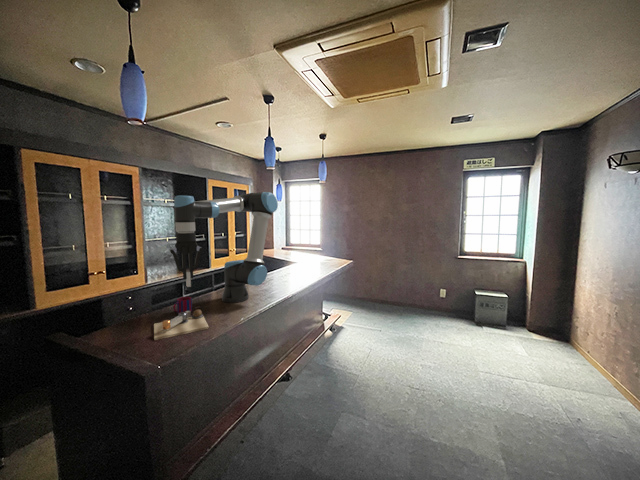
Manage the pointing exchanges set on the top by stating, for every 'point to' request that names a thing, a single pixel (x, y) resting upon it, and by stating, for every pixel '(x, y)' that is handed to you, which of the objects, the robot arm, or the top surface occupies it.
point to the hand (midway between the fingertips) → (188, 285)
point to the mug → (183, 304)
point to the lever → (176, 320)
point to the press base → (182, 326)
